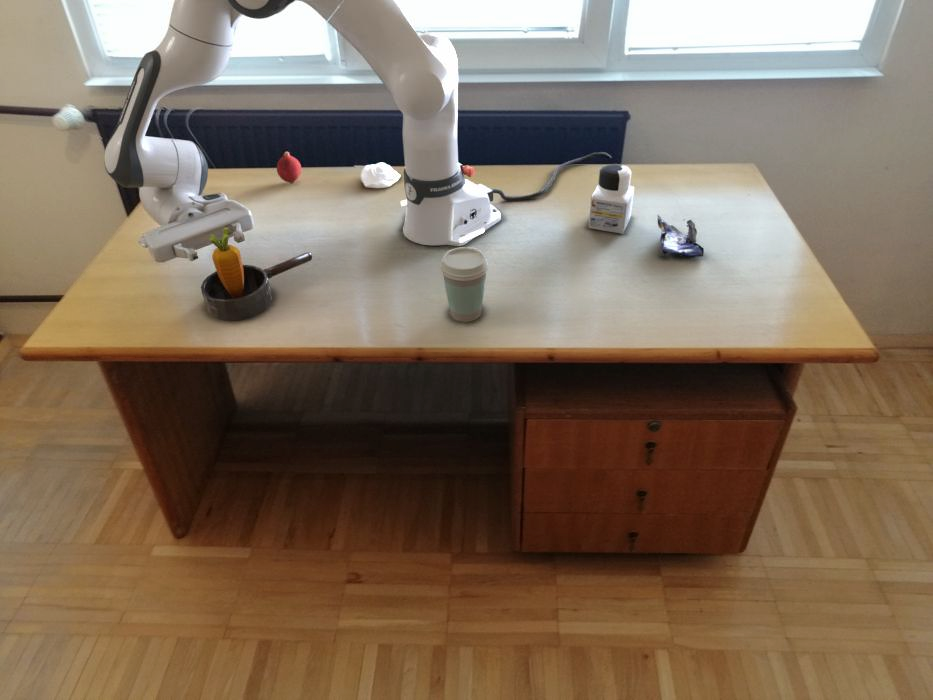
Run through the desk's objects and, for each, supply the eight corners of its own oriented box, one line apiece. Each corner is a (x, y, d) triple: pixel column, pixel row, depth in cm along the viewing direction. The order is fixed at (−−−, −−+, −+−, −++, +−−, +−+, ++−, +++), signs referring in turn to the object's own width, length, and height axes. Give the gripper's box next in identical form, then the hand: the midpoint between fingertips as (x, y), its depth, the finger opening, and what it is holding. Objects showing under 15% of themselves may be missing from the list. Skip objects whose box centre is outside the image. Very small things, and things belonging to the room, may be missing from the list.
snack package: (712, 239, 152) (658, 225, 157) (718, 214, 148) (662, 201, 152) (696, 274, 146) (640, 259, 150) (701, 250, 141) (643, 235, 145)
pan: (253, 277, 145) (248, 258, 142) (283, 303, 138) (279, 283, 135) (196, 300, 139) (190, 281, 136) (224, 329, 132) (218, 309, 129)
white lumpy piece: (356, 157, 177) (395, 152, 179) (358, 174, 180) (397, 169, 182) (361, 174, 170) (402, 169, 171) (363, 192, 173) (403, 186, 174)
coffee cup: (496, 306, 135) (496, 251, 128) (475, 331, 129) (474, 275, 122) (456, 295, 138) (454, 241, 131) (434, 319, 133) (430, 263, 125)
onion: (298, 189, 175) (292, 158, 170) (276, 187, 176) (269, 156, 171) (307, 178, 179) (301, 148, 174) (285, 177, 180) (279, 146, 175)
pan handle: (310, 257, 145) (308, 249, 144) (314, 260, 144) (313, 253, 143) (260, 277, 140) (258, 270, 139) (265, 281, 139) (263, 273, 138)
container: (587, 228, 157) (593, 173, 148) (596, 212, 162) (602, 158, 154) (623, 234, 154) (630, 178, 146) (630, 217, 160) (638, 163, 152)
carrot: (228, 309, 136) (208, 240, 126) (222, 296, 139) (202, 228, 130) (254, 302, 137) (236, 233, 128) (248, 289, 141) (230, 221, 131)
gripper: (129, 224, 135) (158, 252, 127) (230, 189, 145) (263, 214, 137) (140, 252, 139) (168, 282, 131) (237, 217, 149) (269, 243, 141)
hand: (217, 247), depth 134 cm, fingers open, 8 cm apart
